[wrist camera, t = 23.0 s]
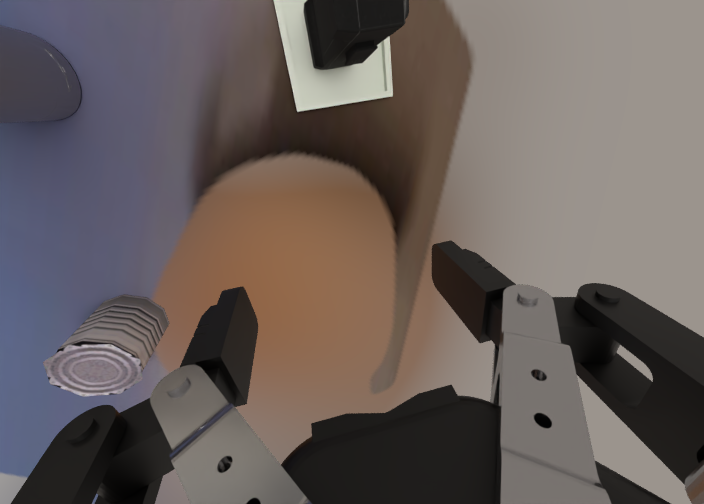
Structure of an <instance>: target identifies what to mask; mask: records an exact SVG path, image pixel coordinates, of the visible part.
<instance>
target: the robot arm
mask: <svg viewBox="0 0 704 504" xmlns="http://www.w3.org/2000/svg"><path fill="white" fill-rule="evenodd" d="M80 100H81V89H80V85H79V81H78V79H77V76H76V74H75V72H74V70H73V69H72V67H71V66H70V64H69V63H68V61H67V60H66V59H65V58H64V57H63V56H62V54H61V53H59V52H58V51H57V50H56V49H55V48H54V47H53V46H51V45H50V44H48V43H47V42H45V41H44V40H42V39H40V38H38V37H36V36H34V35H32V34H29V33H26V32H23V31H19V30H16V29H12V28H9V27H5V26H2V25H0V123H15V122H35V121H53V120H61V119H64V118H67V117H69V116H71V115H72V114H73V113H74V112H75V111H76V110H77V108H78V107H79V104H80ZM432 279H433V283H434V285H435V287H436V288H437V290H438V291H439V292H440V294H441V295H442V296H443V297H444V299H445V300H446V301H447V302H448V304H449V305H450V306H451V307H452V309H453V310H454V311H455V313H456V314H457V315H458V316H459V318H460V319H461V320H462V321H463V323H464V324H465V325H466V327H467V328H468V329H469V330H470V332H471V333H472V334H473V335H474V337H475V338H476V339H477V340H478V342H479V343H483V342H486V341H490V340H492V341H493V342H494V344H495V348H494V358H493V373H492V388H491V399H490V402H488V401H485V400H482V399H478V398H474V397H469V396H458V395H457V394H456V392H455V390H454V388H453V387H452V385H448V386H445V387H441V388H437V389H434V390H430V391H427V392H423V393H419V394H417V395H416V396H414V397H412V398H411V399H409V400H407V401H406V402H404V403H402V404H401V405H399V406H397V407H396V408H394V409H392V410H391V411H389V412H386V413H370V414H369V413H364V414H363V413H358V414H344V415H340V416H337V417H334V418H330V419H326V420H322V421H319V422H315V423H312V424H311V425H312V437H310V438H309V439H307V440H306V441H304V442H303V443H302V444H300V445H299V446H298V447H297V448H296V449H295V450H294V451H293V452H292V453H291V454H290V455H289V456H288V457H287V458H286V459H285V460H284V461H283V463H282V464H281V465H280V463H279V462H278V461H277V460H276V458H275V457H274V456H273V455H272V453H271V452H270V451H269V450H268V448H267V447H266V446H265V444H264V443H263V442H262V441H261V439H260V438H259V437H258V436H257V434H256V433H255V432H254V431H253V429H252V428H251V427H250V426H249V424H248V423H247V422H246V420H245V419H244V418H243V417H242V415H241V414H240V413H239V412H238V410H237V409H236V408H235V407H237V406H241V405H245V404H247V398H248V392H249V385H250V379H251V372H252V366H253V359H254V353H255V346H256V339H257V333H258V323H257V318H256V315H255V312H254V310H253V307H252V305H251V302H250V300H249V298H248V295H247V293H246V290H245V289H244V287H237V288H233V289H228V290H224V291H222V293H221V295H220V298H219V300H218V303H217V305H214V306H211V307H210V308H209V309H208V310H207V311H206V312H205V313H204V315H202V317H201V319H200V321H199V324H198V326H197V327H198V328H197V329H196V331H195V333H194V337H193V338H192V340H191V342H190V345H189V347H188V349H187V352H186V354H185V356H184V359H183V361H182V363H181V365H180V368H178V369H176V370H174V371H172V372H171V373H169V374H168V375H167V376H165V377H164V378H163V379H162V380H161V381H160V382H159V383H158V384H157V385H156V387H155V388H154V390H153V392H152V394H151V397H150V398H149V399H147V400H145V401H143V402H141V403H139V404H137V405H135V406H133V407H131V408H129V409H127V410H125V411H123V412H121V413H119V412H118V411H117V410H116V409H115V408H114V407H113V406H111V405H101V406H97V407H95V408H92V409H90V410H88V411H86V412H84V413H82V414H81V415H79V416H78V417H76V418H75V419H74V420H72V421H71V422H70V423H69V424H67V425H66V426H65V427H64V428H63V429H62V430H61V431H60V432H59V433H58V434H57V436H56V437H55V438H54V440H53V441H52V442H51V444H50V445H49V447H48V448H47V450H46V451H45V453H44V454H43V456H42V457H41V459H40V460H39V462H38V463H37V465H36V467H35V468H34V470H33V471H32V473H31V474H30V476H29V477H28V479H27V480H26V482H25V483H24V485H23V486H22V488H21V489H20V491H19V492H18V494H17V495H16V497H15V498H14V500H13V501H12V503H11V504H92V502H93V499H94V497H95V495H96V493H97V494H98V497H97V500H96V502H95V504H155V501H156V497H157V494H158V491H159V487H160V484H161V481H162V477H163V475H165V474H167V473H169V472H170V471H172V470H173V469H175V470H176V473H177V475H178V477H179V479H180V482H181V484H182V486H183V488H184V490H185V493H186V495H187V497H188V499H189V501H190V504H670V503H669V502H667V501H665V500H663V499H662V498H660V497H658V496H656V495H655V494H653V493H651V492H649V491H648V490H646V489H644V488H642V487H641V486H639V485H637V484H635V483H634V482H632V481H630V480H628V479H627V478H625V477H623V476H621V475H620V474H618V473H616V472H614V471H613V470H610V469H609V468H607V467H606V466H604V465H602V464H600V463H599V462H597V461H595V460H594V455H593V450H592V446H591V441H590V436H589V432H588V427H587V422H586V417H585V413H584V408H583V404H582V398H581V394H580V389H579V384H578V380H577V375H578V376H579V377H580V378H581V379H582V380H583V381H584V382H585V383H586V384H587V386H588V387H590V389H591V390H592V391H593V392H594V393H595V394H596V395H597V396H598V397H599V398H600V399H601V400H602V401H603V402H604V403H605V404H606V405H607V406H608V407H609V408H610V409H611V410H612V411H613V412H614V413H615V414H616V415H617V416H618V417H619V418H620V419H621V420H622V421H623V422H624V423H625V424H626V425H627V426H628V427H629V428H630V429H631V430H632V431H633V432H634V433H635V434H636V436H637V437H638V438H639V439H640V440H641V441H642V442H643V443H644V444H645V445H646V446H647V447H648V448H649V449H650V450H651V451H652V452H653V453H654V454H655V455H656V456H657V457H658V458H659V459H660V460H661V461H662V462H663V463H664V464H665V465H666V466H667V467H668V468H669V469H670V470H671V471H672V472H673V473H674V474H675V475H676V476H677V477H678V478H679V479H680V480H681V481H682V482H683V483H684V485H685V490H686V492H687V495H688V497H689V499H690V501H691V503H692V504H704V337H702V336H700V335H698V334H697V333H695V332H693V331H692V330H690V329H688V328H686V327H685V326H683V325H681V324H680V323H678V322H677V321H675V320H673V319H672V318H670V317H668V316H667V315H665V314H663V313H662V312H660V311H658V310H657V309H655V308H653V307H652V306H650V305H648V304H646V303H645V302H643V301H641V300H639V299H638V298H636V297H635V296H633V295H631V294H630V293H628V292H626V291H624V290H622V289H620V288H617V287H614V286H611V285H606V284H599V283H598V284H597V283H591V284H585V285H583V286H581V287H580V288H579V290H578V293H577V296H576V297H551V296H550V295H549V294H548V293H547V292H545V291H543V290H542V289H539V288H537V287H534V286H530V285H516V284H515V283H513V282H512V281H511V280H509V279H508V278H507V277H506V276H505V275H503V274H502V273H501V272H500V271H498V270H497V269H496V268H495V267H492V265H491V264H490V263H488V262H487V261H485V260H484V259H483V258H482V257H481V256H480V255H478V254H477V253H474V252H472V251H469V250H467V249H463V250H462V249H461V248H460V247H459V246H458V245H456V244H455V243H454V242H452V241H446V242H442V243H438V244H434V245H433V246H432ZM619 345H622V346H623V347H624V348H626V349H627V350H628V351H629V352H631V353H632V354H633V355H634V356H636V357H637V358H638V359H640V360H641V361H642V362H643V363H644V364H646V366H647V367H648V368H649V369H650V371H651V373H652V376H653V382H652V381H651V380H649V379H648V378H647V377H646V376H644V375H643V374H642V373H641V372H639V371H638V370H637V369H636V368H634V367H633V366H632V365H631V364H630V363H628V362H627V361H626V360H625V359H624V358H622V357H621V356H620V355H619V354H617V353H616V352H617V350H618V348H619ZM576 374H577V375H576Z"/></svg>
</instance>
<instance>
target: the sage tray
mask: <svg viewBox="0 0 704 504" xmlns="http://www.w3.org/2000/svg"><path fill="white" fill-rule="evenodd" d="M306 1H307V0H274V5H275V10H276V15H277V19H278V24H279V29H280V33H281V38H282V43H283V47H284V52H285V57H286V62H287V66H288V71H289V76H290V80H291V85H292V90H293V95H294V99H295V104H296V109H297V112H299V111H305V110H312V109H318V108H324V107H330V106H336V105H342V104H348V103H354V102H361V101H367V100H373V99H379V98H385V97H391V96H393V88H392V71H391V54H390V37H387V38H386V39H385V40H383V41H382V42H381V43H379V44H378V45H377V46H378V48H377V49H376V50H375V51H374V52H373V53H372V54H371V55H370V56H369V57H368V58H367V59H366V60H365V61H364V62H363V63H360V64H354V65H351V66H345V67H340V68H334V69H328V70H319V69H315V68H314V67H313V62H312V56H311V51H310V45H309V40H308V34H307V29H306V23H305V17H304V11H303V10H304V3H305V2H306Z"/></svg>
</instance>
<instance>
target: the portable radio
mask: <svg viewBox="0 0 704 504" xmlns="http://www.w3.org/2000/svg"><path fill="white" fill-rule="evenodd" d="M303 11H304V17H305V23H306V29H307V34H308V40H309V45H310V51H311V56H312V62H313V67H314V68H315V69H319V70H328V69H334V68H340V67H345V66H351V65H354V64H360V63H363V62H364V61H365V60H366V59H367V58H368V57H369V56H370V55H371V54H372V53H373V52H374V51H375V50H376V49H377V48H378V46H377V45H378V44H379V43H381V42H382V41H383V40H385V39H386V38H387V37H389V36H390V35H391V34H393V33H394V32H395V31H397V30H398V29H399V28H401V27H402V26H403V25H404V24H405V19H406V18H407V16H408V13H409V0H307V1H306V2H305V3H304V10H303Z"/></svg>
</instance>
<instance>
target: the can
mask: <svg viewBox="0 0 704 504" xmlns="http://www.w3.org/2000/svg"><path fill="white" fill-rule="evenodd" d="M168 325H169V321H168V318H167V315H166V312H165V310H164V308H162V307H161V306H159V305H158V304H156V303H155V302H153V301H151V300H150V299H148V298H146V297H139V296H132V295H121V296H118V297H115V298H112V299H109V300H107V301H104V302H103V303H102V304H101V305H100V307H99V308H98V309H97V310H96V311H95V312H94V313H93V314H92V315H91V316H90V317H89V318H88V319H87V320H86V321H85V322H84V323H83V324H82V325H81V326H80V327H79V328H78V329H77V330H76V331H75V333H74V334H73V335H72V336H71V337H70V338H69V339H68V340H67V341H66V342H65V343H64V344H63V345H62V346H61V347H60V348H59V349H58V351H57V353H56V354H55V355H53V356H52V357H50V358H49V359H47V360H46V361H44V362H43V364H44V367H45V370H46V373H47V376H48V378H49V381H50V384H52V385H54V386H57V387H60V388H62V389H65V390H67V391H70V392H73V393H75V394H78V395H81V396H95V395H110V394H120V393H122V392H123V391H125V390H126V389H128V388H130V387H131V386H133V385H134V384H136V383H137V382H139V381H141V380H142V371H143V369H144V367H145V366H146V364H147V362H148V360H149V359H150V357H151V355H152V353H153V351H154V350H155V348H156V346H157V344H158V343H159V341H160V339H161V337H162V336H163V334H164V332H165V330H166V328H167V327H168Z"/></svg>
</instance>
